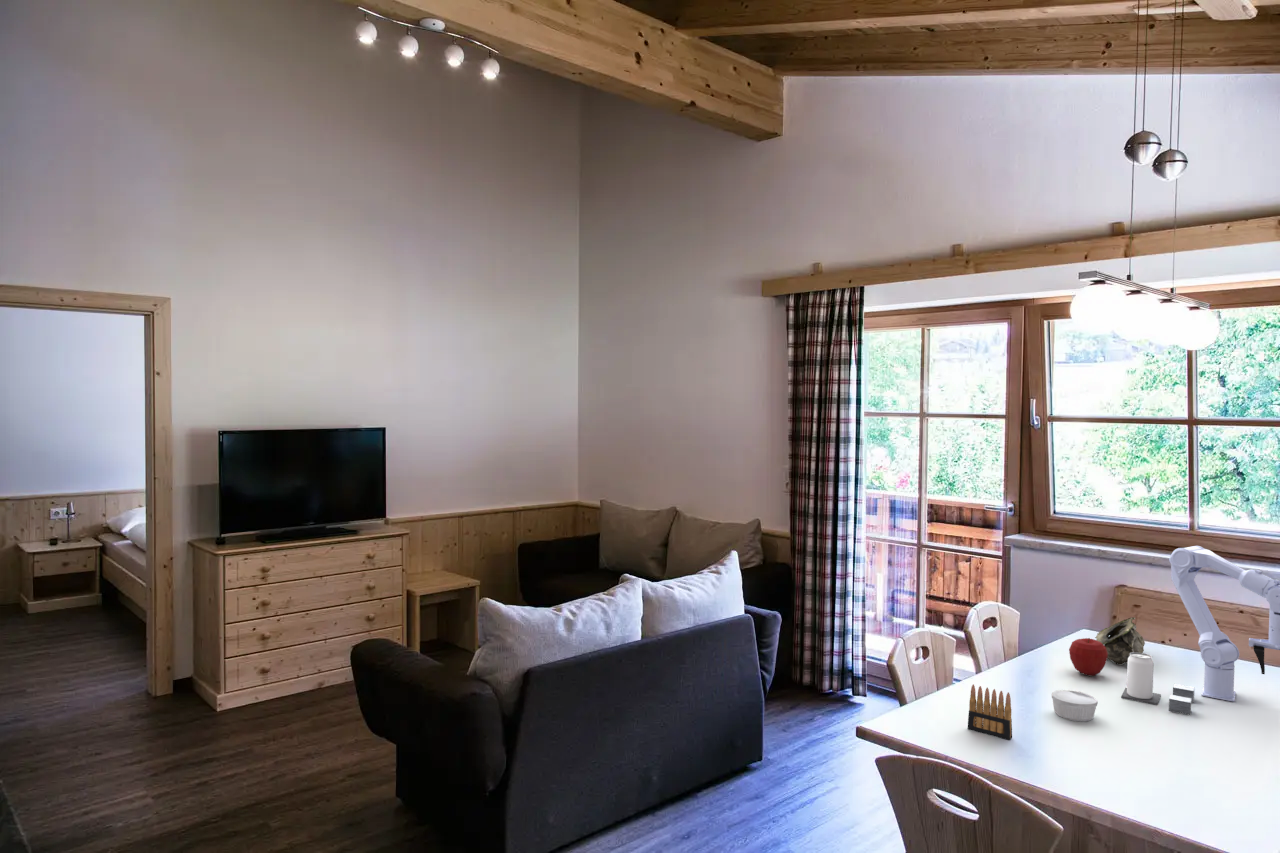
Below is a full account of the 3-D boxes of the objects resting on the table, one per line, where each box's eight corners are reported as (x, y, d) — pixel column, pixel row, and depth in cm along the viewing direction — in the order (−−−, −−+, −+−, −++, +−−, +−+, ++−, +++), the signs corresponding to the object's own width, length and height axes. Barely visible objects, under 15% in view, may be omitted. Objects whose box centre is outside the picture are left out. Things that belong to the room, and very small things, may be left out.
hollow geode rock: (1115, 682, 270) (1153, 656, 263) (1084, 650, 275) (1120, 623, 268) (1129, 659, 292) (1164, 634, 285) (1100, 629, 297) (1134, 604, 290)
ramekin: (1102, 715, 229) (1102, 696, 229) (1090, 727, 221) (1091, 707, 221) (1058, 705, 237) (1058, 686, 237) (1045, 715, 229) (1046, 696, 229)
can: (1156, 700, 239) (1157, 659, 239) (1131, 698, 240) (1132, 657, 240) (1147, 692, 245) (1148, 652, 245) (1123, 691, 247) (1124, 651, 246)
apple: (1071, 666, 271) (1072, 631, 271) (1109, 673, 265) (1110, 636, 265) (1065, 675, 262) (1066, 638, 262) (1104, 682, 256) (1105, 644, 256)
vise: (1174, 693, 247) (1174, 682, 247) (1194, 697, 244) (1195, 685, 244) (1168, 710, 233) (1169, 698, 233) (1190, 715, 230) (1190, 702, 230)
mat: (1125, 689, 250) (1125, 687, 250) (1160, 696, 245) (1160, 694, 245) (1121, 697, 243) (1121, 695, 243) (1157, 705, 237) (1157, 702, 237)
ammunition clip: (1012, 738, 213) (1013, 692, 213) (1010, 740, 212) (1011, 694, 211) (969, 727, 220) (970, 682, 220) (967, 729, 219) (968, 684, 218)
